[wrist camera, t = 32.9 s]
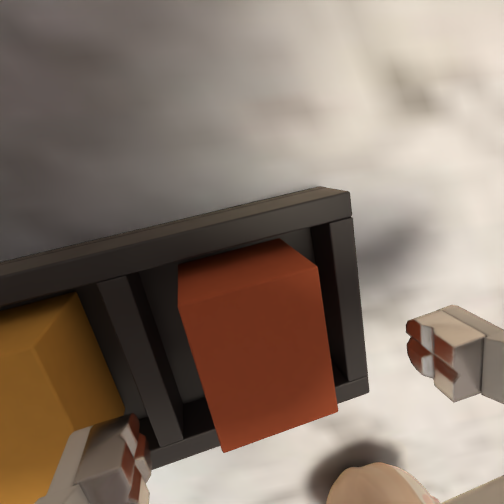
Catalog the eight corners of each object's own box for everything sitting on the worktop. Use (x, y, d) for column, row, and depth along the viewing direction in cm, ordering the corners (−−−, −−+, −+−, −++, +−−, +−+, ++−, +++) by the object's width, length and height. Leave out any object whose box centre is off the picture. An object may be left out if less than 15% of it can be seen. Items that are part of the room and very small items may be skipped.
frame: (-140, 295, 11) (-229, 331, 9) (320, 186, 14) (350, 190, 12) (-18, 479, 14) (-59, 546, 12) (342, 359, 17) (370, 393, 14)
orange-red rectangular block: (177, 264, 13) (176, 305, 9) (280, 237, 14) (318, 266, 10) (211, 380, 15) (223, 454, 11) (300, 351, 15) (339, 412, 12)
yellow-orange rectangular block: (-49, 323, 12) (-158, 399, 8) (76, 290, 12) (32, 346, 9) (20, 442, 13) (-42, 550, 10) (126, 408, 14) (106, 496, 10)
